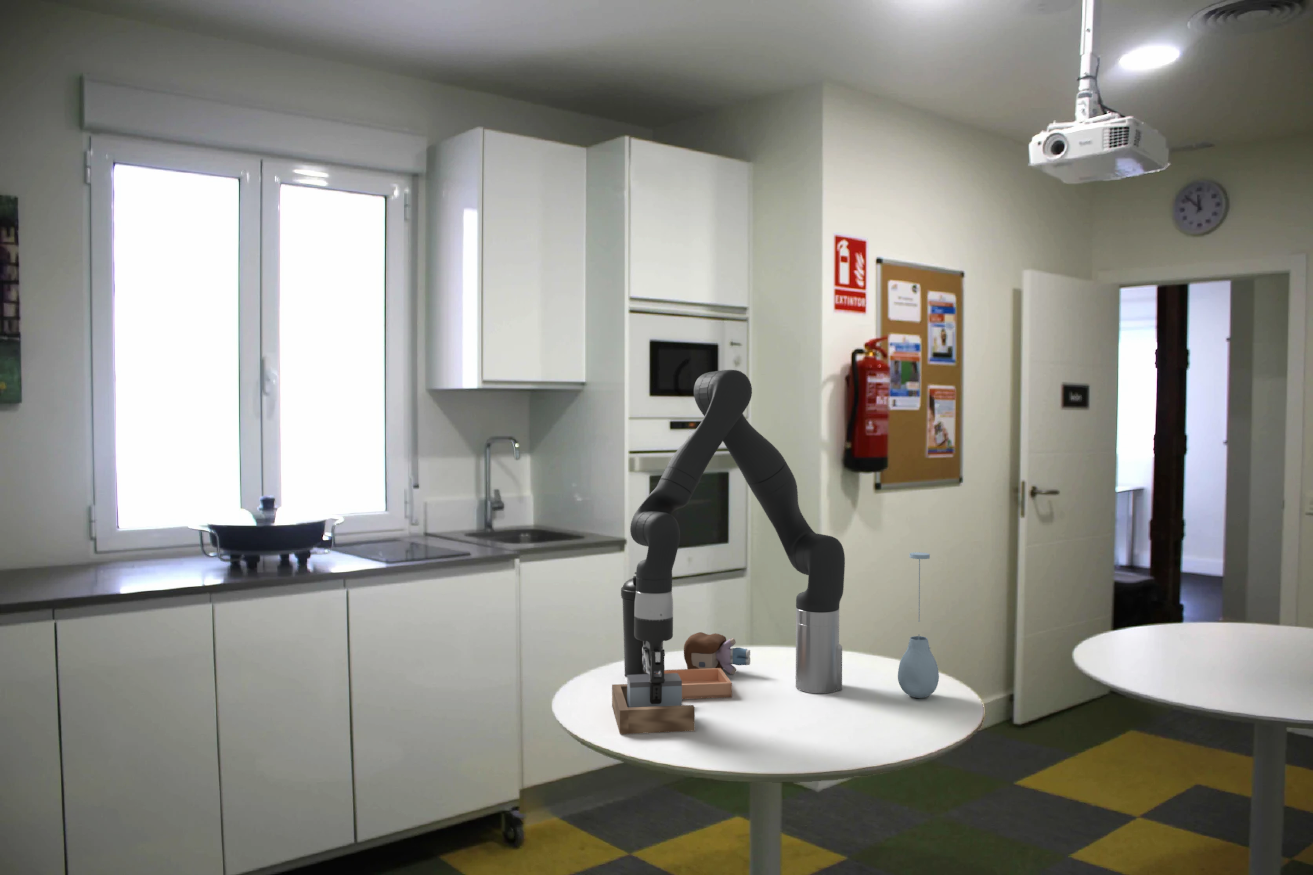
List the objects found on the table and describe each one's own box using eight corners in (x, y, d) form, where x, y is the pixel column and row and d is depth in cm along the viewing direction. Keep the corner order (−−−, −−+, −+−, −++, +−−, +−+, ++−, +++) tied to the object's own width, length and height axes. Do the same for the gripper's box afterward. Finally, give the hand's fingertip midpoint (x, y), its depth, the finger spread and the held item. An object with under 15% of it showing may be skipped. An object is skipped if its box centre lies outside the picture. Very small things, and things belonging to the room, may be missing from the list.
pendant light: (915, 704, 198) (916, 557, 197) (889, 693, 205) (890, 552, 205) (947, 699, 201) (948, 555, 200) (920, 689, 209) (921, 550, 208)
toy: (746, 679, 216) (681, 675, 220) (753, 670, 224) (691, 666, 228) (745, 640, 216) (680, 637, 220) (753, 632, 224) (690, 629, 228)
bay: (680, 703, 198) (680, 682, 198) (694, 730, 181) (694, 707, 181) (612, 706, 197) (612, 684, 196) (619, 734, 179) (619, 710, 179)
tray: (720, 681, 215) (720, 667, 215) (731, 697, 203) (731, 683, 203) (646, 684, 212) (646, 670, 212) (652, 700, 200) (652, 685, 200)
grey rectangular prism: (677, 713, 192) (677, 672, 192) (681, 721, 187) (681, 680, 187) (627, 715, 191) (627, 674, 191) (630, 724, 186) (630, 682, 185)
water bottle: (667, 669, 224) (667, 570, 224) (663, 681, 214) (663, 577, 214) (624, 668, 225) (624, 569, 225) (618, 680, 215) (618, 577, 215)
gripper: (678, 621, 182) (677, 707, 182) (667, 606, 196) (666, 686, 196) (638, 621, 181) (637, 708, 181) (630, 607, 195) (629, 687, 195)
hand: (652, 696), depth 189 cm, fingers open, 8 cm apart
